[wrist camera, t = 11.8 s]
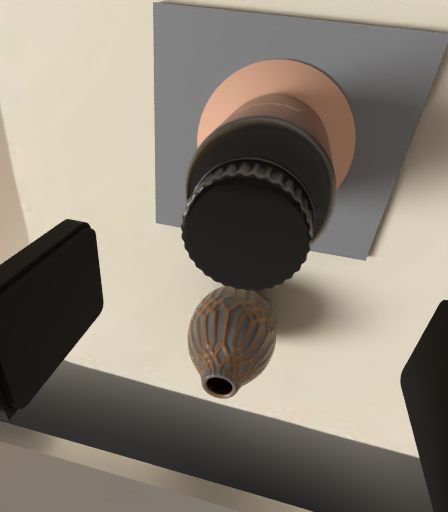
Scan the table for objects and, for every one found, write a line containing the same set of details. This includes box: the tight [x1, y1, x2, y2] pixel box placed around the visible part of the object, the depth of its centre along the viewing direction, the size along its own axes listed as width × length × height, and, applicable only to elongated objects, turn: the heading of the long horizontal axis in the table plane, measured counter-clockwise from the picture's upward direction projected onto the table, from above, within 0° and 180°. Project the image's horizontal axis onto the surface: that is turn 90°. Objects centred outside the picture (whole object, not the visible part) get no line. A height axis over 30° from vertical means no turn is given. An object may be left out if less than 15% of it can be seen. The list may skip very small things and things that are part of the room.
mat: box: [153, 2, 448, 261], centre depth 23 cm, size 16×14×1 cm
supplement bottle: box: [181, 94, 337, 291], centre depth 17 cm, size 7×7×12 cm
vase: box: [188, 286, 276, 398], centre depth 27 cm, size 7×7×9 cm
